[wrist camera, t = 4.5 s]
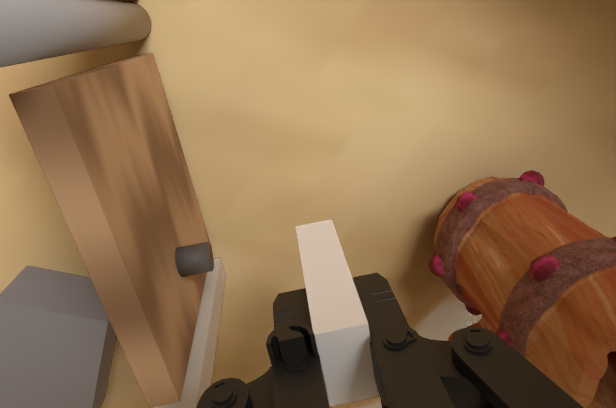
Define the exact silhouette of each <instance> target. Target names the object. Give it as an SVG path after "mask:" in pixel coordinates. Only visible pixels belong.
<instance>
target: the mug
mask: <svg viewBox="0 0 616 408" xmlns="http://www.w3.org/2000/svg"><path fill="white" fill-rule="evenodd" d="M434 246H435V255H434V256H433V257H432V258H431V260H430V263H429V267H430V270H431V272H432V273H433V274H435V275H437V276H440V277H441V278H442V279H443V281H444V282H445V283H446V285H447V286H448V287H449V288H450V289H451V291H452V292H453V293H454V294H455V295H456V297H457V298H458V299H459V300H461V301H462V302H463V303H465V306H466V309H467V310H468V311H469V312H470V313H471V314H473V315H479V314H482V319H481V320H480V321H479V322H478V323H476V324H473V325H471V326H469V327H481V328H484V329H488V330H490V331H492V332H494V333H495V334H497V335H498V336H500V337H501V338H502V339H503V340H504V341H506V342H507V343H508V344H509V345H510V346H511V347H513V348H514V349H515V350H516V351H517V352H519V353H520V354H521V355H522V356H523V357H524V358H526V359H527V360H528V361H529V362H530V363H532V364H533V365H534V366H535V367H536V368H537V369H539V370H540V371H541V372H542V373H543V374H545V375H546V376H547V377H548V378H549V379H551V380H552V381H553V382H554V383H555V384H556V385H558V386H559V387H560V388H561V389H562V390H564V391H565V392H566V393H567V394H568V395H569V396H571V397H572V398H573V399H574V400H575V401H577V402H578V403H579V404H580V405H581V406H582V407H584V408H616V237H613V238H608V237H606V236H604V235H603V234H601V233H599V232H597V231H596V230H594V229H592V228H591V227H589V226H587V225H586V224H584V223H583V222H581V221H580V220H578V219H577V218H575V217H574V216H572V215H571V214H569V213H568V212H567V210H566V208H565V205H564V204H563V203H562V201H561V200H560V199H559V198H558V197H557V196H556V195H555V194H553V193H552V192H550V191H549V190H547V189H546V188H545V187H544V179H543V176H542V175H541V174H540V173H539V172H535V171H532V170H531V171H528V172H525V173H524V174H522V175H521V177H520V178H496V177H489V178H485V179H481V180H479V181H476V182H474V183H472V184H470V185H468V186H467V187H465V188H464V189H463V190H460V191H459V192H458V193H457V194H456V195H455V196H454V197H453V199H452V200H451V201H450V202H449V204H448V205H447V206H446V208H445V209H444V210H443V212H442V213H441V215H440V216H439V220H438V224H437V227H436V230H435V236H434ZM467 328H468V327H467ZM457 331H459V330H457ZM457 331H455V332H454V333H456V332H457ZM454 333H452V334H451V336H450V337H449V341H451V339H452V337H453V335H454Z"/></svg>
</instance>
